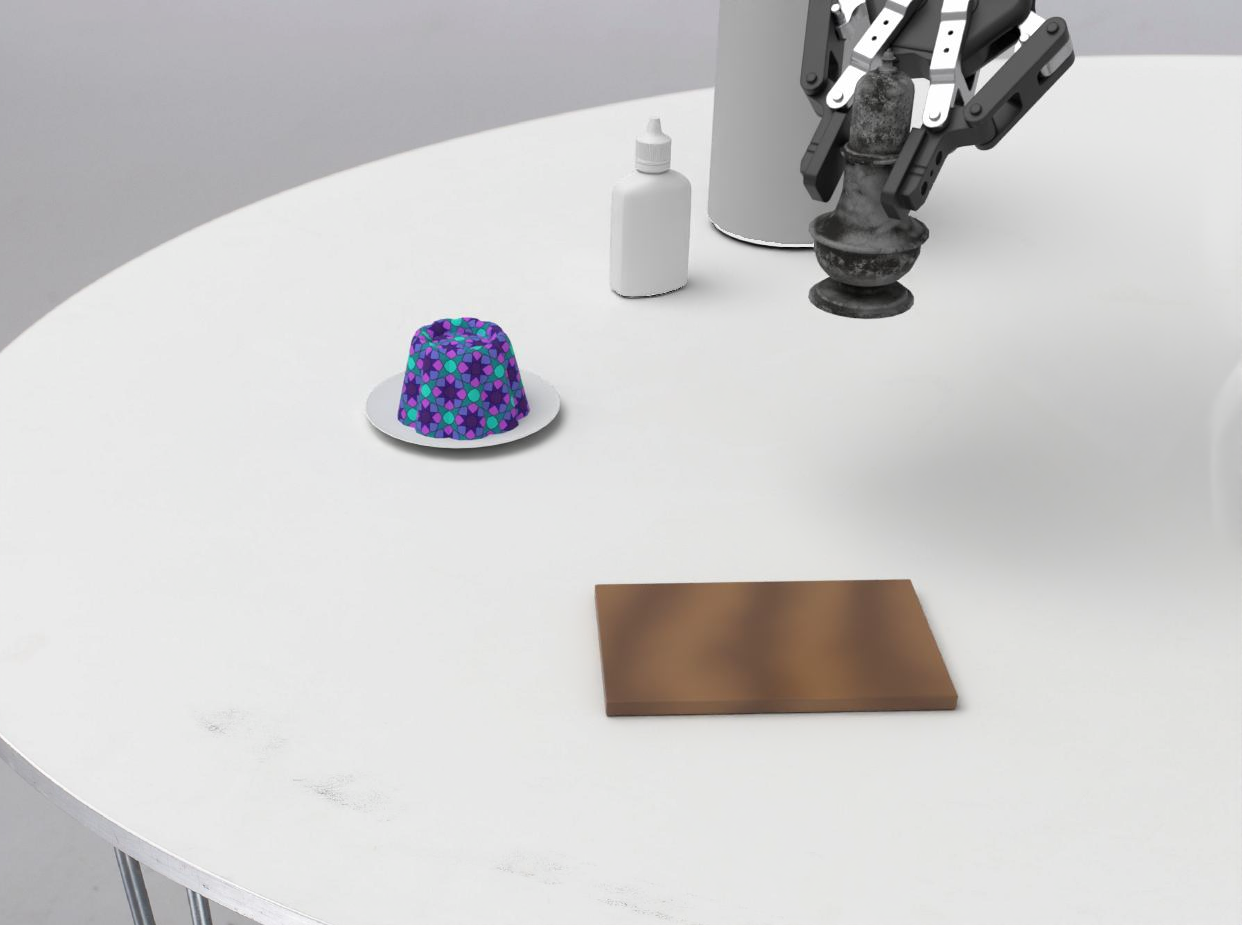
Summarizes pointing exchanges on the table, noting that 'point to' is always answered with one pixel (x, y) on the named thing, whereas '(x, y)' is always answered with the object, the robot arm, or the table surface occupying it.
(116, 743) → the table surface
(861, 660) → the wooden board
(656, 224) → the eye dropper bottle
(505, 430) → the pudding
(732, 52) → the cylinder vase
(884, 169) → the salt shaker
